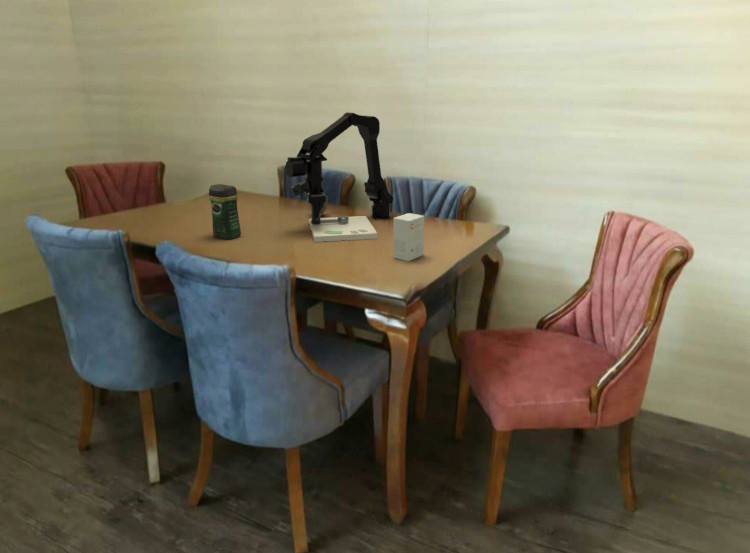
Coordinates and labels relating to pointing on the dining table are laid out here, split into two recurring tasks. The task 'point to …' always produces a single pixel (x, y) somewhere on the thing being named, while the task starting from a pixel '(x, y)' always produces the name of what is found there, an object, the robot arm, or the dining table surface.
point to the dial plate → (343, 230)
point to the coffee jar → (224, 211)
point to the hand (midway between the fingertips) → (316, 216)
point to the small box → (408, 236)
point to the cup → (324, 207)
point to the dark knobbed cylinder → (317, 220)
